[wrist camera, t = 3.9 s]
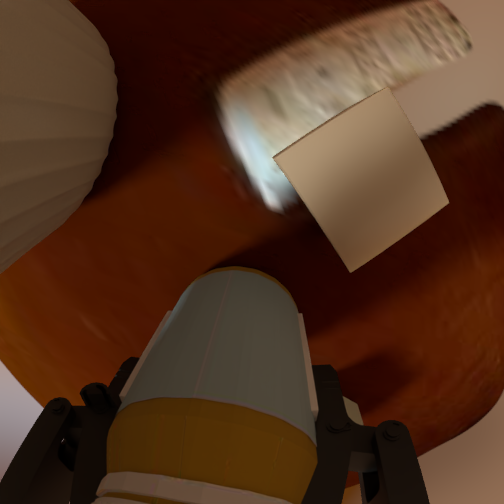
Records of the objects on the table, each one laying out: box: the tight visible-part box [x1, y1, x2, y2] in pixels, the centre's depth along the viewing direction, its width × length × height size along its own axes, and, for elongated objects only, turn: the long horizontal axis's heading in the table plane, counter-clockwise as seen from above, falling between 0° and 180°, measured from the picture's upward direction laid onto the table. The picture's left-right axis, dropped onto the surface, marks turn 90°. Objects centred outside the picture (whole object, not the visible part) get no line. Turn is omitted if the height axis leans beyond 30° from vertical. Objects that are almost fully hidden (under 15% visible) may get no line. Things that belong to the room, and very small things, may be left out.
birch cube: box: [272, 87, 449, 273], centre depth 12 cm, size 5×5×5 cm
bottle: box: [91, 266, 318, 504], centre depth 10 cm, size 7×7×15 cm
